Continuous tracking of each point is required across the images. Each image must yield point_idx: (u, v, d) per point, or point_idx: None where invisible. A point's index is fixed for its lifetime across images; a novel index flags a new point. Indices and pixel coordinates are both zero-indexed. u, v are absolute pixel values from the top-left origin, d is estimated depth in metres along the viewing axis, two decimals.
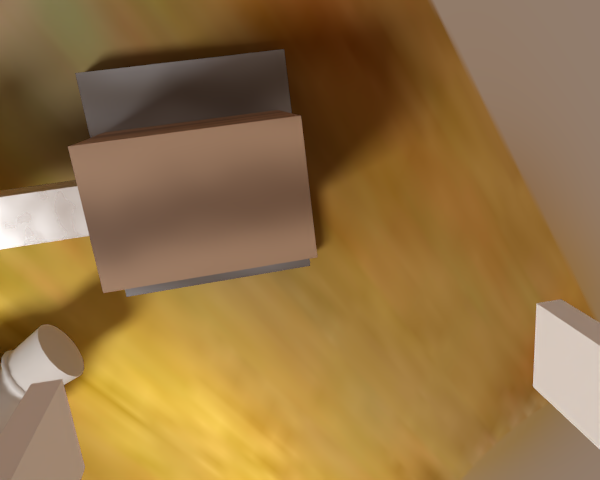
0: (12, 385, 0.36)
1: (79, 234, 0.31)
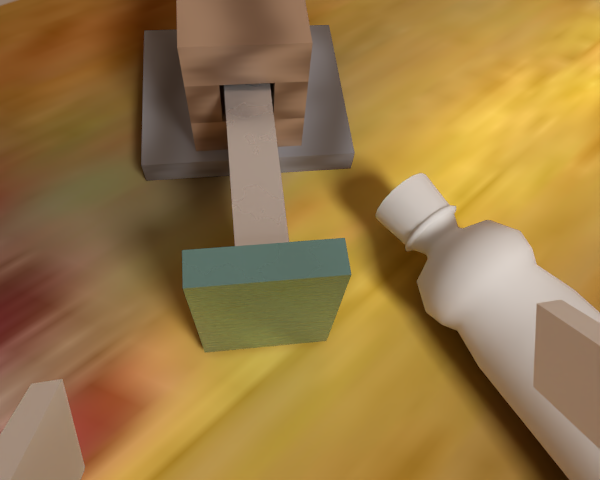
0: (433, 215, 0.34)
1: (269, 102, 0.34)
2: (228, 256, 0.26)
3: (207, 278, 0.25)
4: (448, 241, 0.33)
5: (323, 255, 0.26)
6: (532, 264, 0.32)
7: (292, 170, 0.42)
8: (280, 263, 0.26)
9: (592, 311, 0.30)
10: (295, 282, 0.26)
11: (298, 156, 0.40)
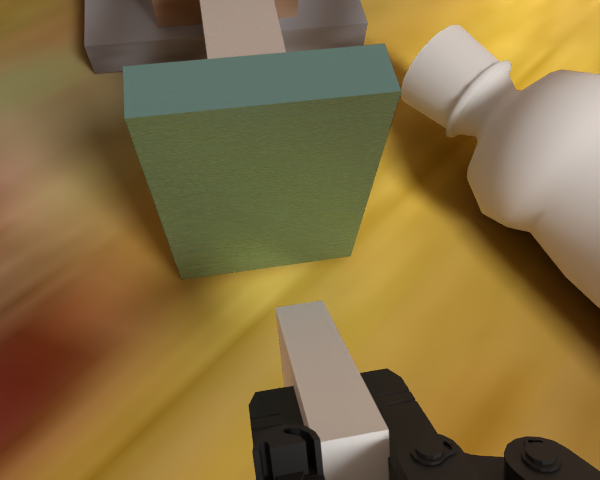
0: (485, 71, 0.24)
1: None
2: (199, 72, 0.16)
3: (165, 103, 0.15)
4: (512, 100, 0.23)
5: (353, 67, 0.16)
6: None
7: None
8: (286, 80, 0.16)
9: None
10: (311, 110, 0.16)
11: (295, 29, 0.30)
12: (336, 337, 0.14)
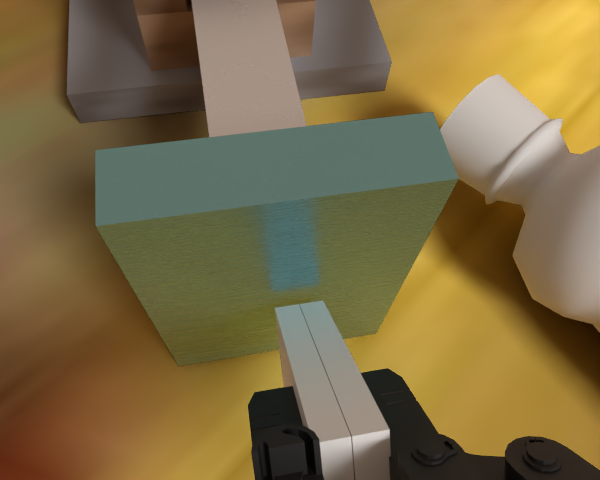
0: (535, 134, 0.20)
1: None
2: (195, 157, 0.12)
3: (150, 202, 0.11)
4: (572, 172, 0.19)
5: (394, 146, 0.12)
6: None
7: (299, 96, 0.28)
8: (308, 165, 0.12)
9: None
10: (340, 204, 0.12)
11: (309, 70, 0.27)
12: (337, 337, 0.14)
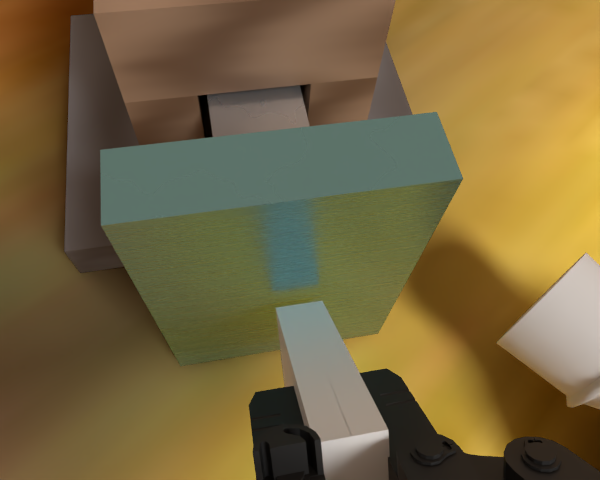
0: None
1: None
2: (200, 156, 0.12)
3: (156, 202, 0.11)
4: None
5: (398, 146, 0.12)
6: None
7: None
8: (313, 165, 0.12)
9: None
10: (345, 204, 0.12)
11: None
12: (336, 337, 0.14)
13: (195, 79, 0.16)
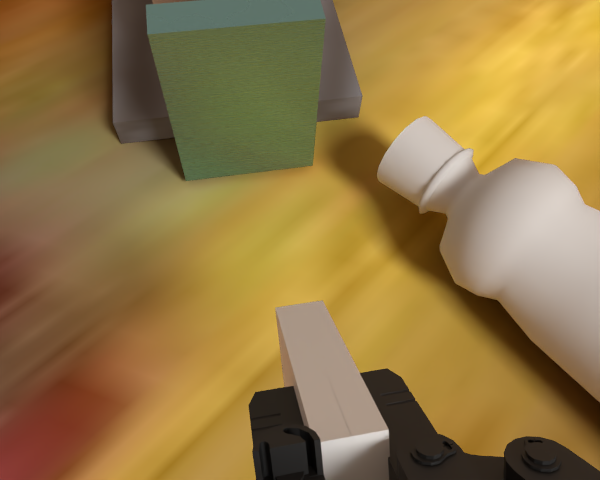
0: (449, 162, 0.28)
1: None
2: (195, 8, 0.24)
3: (173, 25, 0.24)
4: (474, 189, 0.27)
5: (295, 4, 0.25)
6: (582, 202, 0.26)
7: None
8: (250, 12, 0.24)
9: None
10: (267, 32, 0.24)
11: None
12: (336, 337, 0.14)
13: None
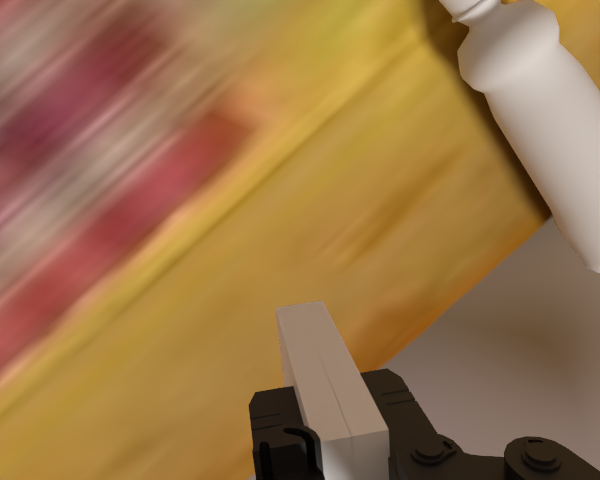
0: (484, 1, 0.39)
1: None
2: None
3: None
4: (494, 28, 0.39)
5: None
6: (556, 48, 0.40)
7: None
8: None
9: (589, 88, 0.41)
10: None
11: None
12: (336, 337, 0.14)
13: None
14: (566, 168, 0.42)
